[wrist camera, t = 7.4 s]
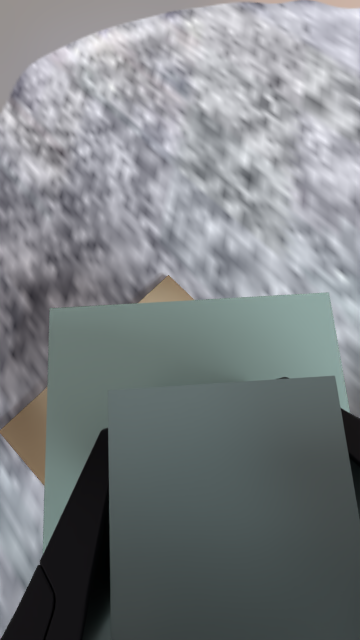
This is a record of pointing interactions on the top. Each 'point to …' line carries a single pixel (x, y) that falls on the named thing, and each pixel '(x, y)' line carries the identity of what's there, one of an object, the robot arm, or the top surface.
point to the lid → (212, 464)
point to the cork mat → (31, 422)
